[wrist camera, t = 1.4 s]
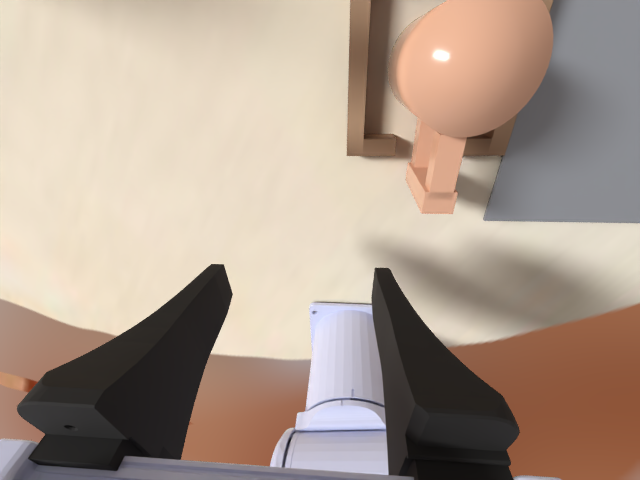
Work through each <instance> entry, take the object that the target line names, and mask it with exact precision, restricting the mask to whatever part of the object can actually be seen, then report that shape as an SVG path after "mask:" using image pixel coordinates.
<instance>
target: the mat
mask: <svg viewBox="0 0 640 480" xmlns="http://www.w3.org/2000/svg"><path fill="white" fill-rule="evenodd" d="M549 14H550V17H551V21H552V26H553V48H552V55H551V59H550V62H549V66H548V69H547V71H546V74H545V76H544V78H543V80H542V82H541V84H540V86H539V88H538V89H537V91H536V92H535V94H534V95H533V97H532V98H531V99H530V100H529V102H528V103H527V104H526V105H525V106H524V107H523V108H522V109H521V110H520V111H519V112H518V114H517V117H516V120H515V123H514V127H513V130H512V133H511V136H510V139H509V143H508V146H507V149H506V152H505V155H503V157H502V161H501V164H500V167H499V170H498V173H497V177H496V180H495V183H494V186H493V189H492V193H491V196H490V199H489V202H488V205H487V209H486V212H485V215H484V218H483V220H484V221H540V222H604V223H640V0H553V3H552V6H551V9H550V12H549Z"/></svg>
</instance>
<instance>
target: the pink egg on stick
mask: <svg viewBox="0 0 640 480" xmlns="http://www.w3.org/2000/svg"><path fill="white" fill-rule="evenodd" d="M552 48H553V26H552V21H551V17H550V14H549V12H548V9H547V7H546V5H545V4H544V2H543V1H542V0H447V1H446V2H444V3H442V4H441V5H439V6H437V7H436V8H434V9H432V10H431V11H429V12H427V13H426V14H424V15H422V16H421V17H419V18H417V19H416V20H414V21H413V22H412V23H410V24H409V25H408V26H407V27H406V28H405V29H404V31H403V32H402V33H401V34H400V36H399V37H398V39H397V40H396V42H395V44H394V46H393V49H392V51H391V54H390V58H389V64H388V79H389V84H390V87H391V90H392V92H393V94H394V96H395V97H396V99H397V100H398V101H399V102H400V103H401V104H402V105H403V106H405V107H406V108H407V109H408V110H409V111H411V112H412V113H413V114H414V115H416V116H417V117H418V118H417V125H416V132H415V139H414V146H413V153H412V160H411V163H408V166H407V173H406V182H407V184H408V186H409V188H410V190H411V193H412V195H413V197H414V199H415V201H416V203H417V205H418V207H419V209H420V211H421V213H424V214H453V211H454V207H455V203H456V199H457V195H458V192H457V191H456V190H455V186H456V182H457V177H458V173H459V169H460V165H461V161H462V156H463V152H464V148H465V144H466V139H467V137H472V136H477V135H481V134H484V133H487V132H489V131H491V130H494V129H496V128H497V127H499V126H501V125H503V124H504V123H506V122H507V121H508V120H510V119H511V118H512V117H514V116H515V115H516V114H517V113H518V112H519V111H520V110H521V109H522V108H523V107H524V106H525V105H526V104H527V103H528V102H529V100H530V99H531V98H532V97H533V95H534V94H535V92H536V91H537V89H538V88H539V86H540V84H541V82H542V80H543V78H544V76H545V74H546V71H547V69H548V66H549V62H550V59H551V55H552Z"/></svg>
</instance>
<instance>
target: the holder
mask: <svg viewBox="0 0 640 480" xmlns="http://www.w3.org/2000/svg"><path fill="white" fill-rule="evenodd" d="M542 1H543V2H544V4H545V5H546V7H547V9H548V12H550V9H551V6H552V3H553V0H542ZM370 7H371V0H350V43H349V85H348V127H347V156H395V148H396V138H395V136H394V135H393V134H364V121H365V102H366V83H367V64H368V45H369V26H370ZM517 114H518V113H517ZM517 114H516V115H515V116H514V117H512V118H511V119H510V120H508V121H507V122H506V123H504V124H503V125H501V126H499V127H497V128H496V129H494V130H491V131H489V132H487V133H484V134H481V135H477V136H472V137H467V139H466V144H465V148H464V152H463V156H480V155H505V152H506V149H507V146H508V143H509V139H510V136H511V133H512V130H513V127H514V123H515V120H516V117H517Z"/></svg>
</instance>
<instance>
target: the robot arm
mask: <svg viewBox="0 0 640 480" xmlns="http://www.w3.org/2000/svg"><path fill="white" fill-rule="evenodd" d="M232 295H233V294H232V291H231V287H230V284H229V281H228V277H227V274H226V271H225V267H224V264H211V265H210V266H209V267H207V268H206V269H205V270H204V271H203V272H202V273H201V274H200V275H199V276H197V277H196V278H195V279H194V280H193V281H192V282H191V283H190V284H188V285H187V286H186V287H185V288H184V289H183V290H182V291H180V292H179V293H178V294H177V295H176V296H174V297H173V298H172V299H171V300H169V301H168V302H167V303H166V304H164V305H163V306H162V307H161V308H160V309H158V310H157V311H156V312H154V313H153V314H151V315H150V316H149V317H147V318H146V319H144V320H143V321H141V322H140V323H138V324H137V325H135V326H134V327H132V328H131V329H129V330H127V331H126V332H124V333H122V334H121V335H119V336H117V337H116V338H114V339H113V340H111V341H109V342H107V343H105V344H104V345H102V346H100V347H98V348H96V349H95V350H92V351H90V352H89V353H87V354H85V355H83V356H81V357H79V358H76V359H74V360H72V361H70V362H68V363H66V364H64V365H61V366H59V367H57V368H55V369H53V370H51V371H48V372H46V374H45V375H44V376H43V377H42V378H41V379H40V380H39V382H38V383H37V384H36V385H35V386H34V387H33V388H32V390H31V391H30V392H29V393H28V394H27V395H26V396H25V398H24V399H23V400H22V401H21V402H20V403H19V405H18V407H17V411H18V413H19V415H20V416H21V417H22V418H23V419H25V420H26V421H27V422H29V423H30V424H32V425H33V426H35V427H36V428H37V429H39V430H40V431H42V432H43V433H45V436H44V437H43V438H42V440H41V441H40V443H37V442H34V441H29V440H17V439H4V438H3V439H0V480H561V479H559V478H554V477H539V476H516V477H513V478H512V475H511V472H510V470H509V467H508V466H510V465H511V462H510V458H509V456H508V453H507V451H506V450H507V448H508V447H509V446H510V445H511V444H512V443H513V442H514V441H515V440H516V438H517V437H518V435H519V433H520V432H519V427H518V425H517V422H516V420H515V418H514V416H513V414H512V412H511V410H510V408H509V407H508V405H507V403H506V402H505V399H504V398H503V396H502V395H501V394H499V393H498V392H497V391H496V390H494V389H493V388H492V387H490V386H489V385H488V384H487V383H485V382H484V381H483V380H481V379H480V378H479V377H477V376H476V375H475V374H474V373H473V372H472V371H470V370H469V369H468V368H467V367H466V366H465V365H464V364H463V363H462V362H460V360H459V359H458V358H457V357H455V356H454V355H453V354H452V353H451V352H450V351H449V350H448V349H447V348H446V347H445V346H444V345H443V344H442V343H441V341H440V340H439V339H438V338H437V337H436V336H435V335H434V334H433V333H432V332H431V330H430V329H429V328H428V327H427V326H426V324H425V323H424V322H423V321H422V319H421V318H420V317H419V315H418V314H417V313H416V311H415V310H414V309H413V307H412V306H411V304H410V303H409V301H408V300H407V298H406V297H405V295H404V294H403V292H402V291H401V289H400V287H399V285H398V284H397V282H396V280H395V278H394V276H393V274H392V272H391V270H390V269H389V268H375V272H374V281H373V290H372V305H365V304H341V303H316V302H314V303H311V304H310V308H309V309H310V325H311V341H312V361H311V369H310V378H309V386H308V394H307V402H306V410H305V412H299V413H298V414H297V420H296V427H295V428H289V429H287V430H286V431H285V433H284V434H283V435H282V437H281V439H280V440H279V442H278V443H277V445H276V447H275V450H274V453H273V456H272V460H271V464H270V466H257V465H243V464H229V463H216V462H202V461H187V460H181V455H182V451H183V447H184V442H185V437H186V434H187V429H188V425H189V421H190V418H191V414H192V410H193V406H194V402H195V399H196V395H197V392H198V388H199V385H200V382H201V378H202V375H203V372H204V369H205V366H206V363H207V360H208V358H209V355H210V353H211V351H212V348H213V346H214V344H215V341H216V339H217V337H218V334H219V332H220V330H221V327H222V325H223V323H224V320H225V318H226V315H227V313H228V309H229V306H230V302H231V298H232ZM315 311H316V312H315Z"/></svg>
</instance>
